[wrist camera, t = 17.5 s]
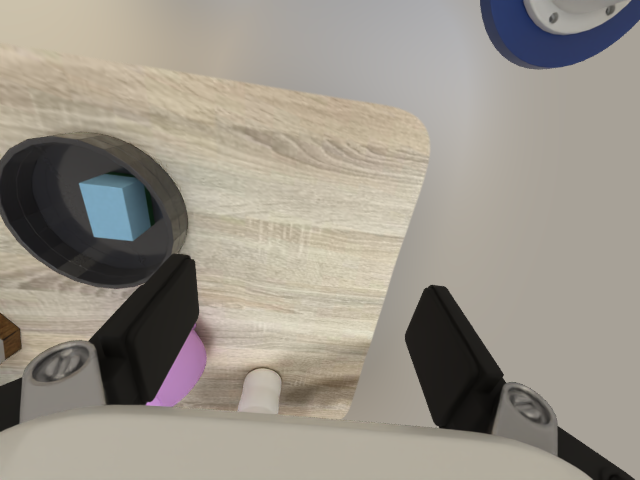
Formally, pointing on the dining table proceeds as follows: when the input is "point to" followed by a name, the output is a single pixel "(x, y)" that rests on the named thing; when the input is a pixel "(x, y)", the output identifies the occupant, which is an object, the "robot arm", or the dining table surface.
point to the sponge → (117, 206)
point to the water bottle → (261, 392)
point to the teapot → (182, 372)
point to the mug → (8, 338)
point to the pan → (70, 212)
